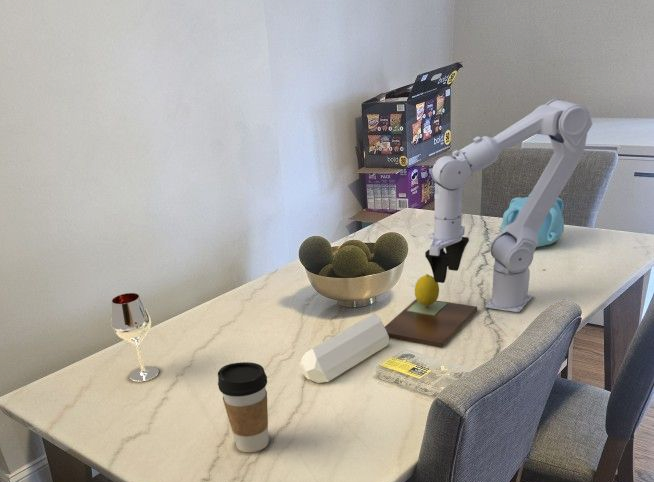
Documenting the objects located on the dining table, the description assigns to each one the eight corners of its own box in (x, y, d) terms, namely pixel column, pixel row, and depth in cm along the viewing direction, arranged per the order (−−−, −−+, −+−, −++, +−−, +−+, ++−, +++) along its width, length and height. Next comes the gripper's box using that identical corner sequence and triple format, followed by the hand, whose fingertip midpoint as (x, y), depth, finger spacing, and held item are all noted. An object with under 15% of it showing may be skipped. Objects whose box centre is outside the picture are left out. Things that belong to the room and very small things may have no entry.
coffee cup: (228, 433, 127) (215, 362, 119) (273, 427, 128) (263, 355, 119) (229, 459, 120) (216, 385, 112) (277, 453, 120) (267, 378, 112)
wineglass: (169, 366, 153) (152, 291, 143) (152, 385, 147) (133, 307, 137) (137, 364, 156) (118, 290, 146) (119, 382, 149) (98, 306, 140)
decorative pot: (554, 255, 183) (559, 204, 176) (493, 250, 191) (496, 201, 184) (567, 235, 195) (573, 186, 187) (509, 231, 202) (513, 184, 195)
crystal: (361, 317, 154) (286, 359, 141) (383, 308, 148) (307, 351, 135) (375, 347, 155) (302, 391, 142) (397, 339, 150) (323, 385, 136)
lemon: (438, 311, 159) (439, 278, 154) (414, 311, 160) (414, 279, 156) (438, 301, 163) (439, 269, 159) (415, 302, 164) (415, 270, 160)
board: (417, 302, 168) (417, 296, 167) (477, 311, 160) (477, 305, 159) (379, 336, 154) (379, 330, 154) (442, 347, 146) (442, 341, 146)
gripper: (444, 205, 155) (443, 262, 162) (416, 224, 145) (416, 285, 153) (474, 207, 151) (471, 266, 158) (447, 227, 142) (446, 289, 149)
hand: (446, 275), depth 155 cm, fingers open, 7 cm apart
